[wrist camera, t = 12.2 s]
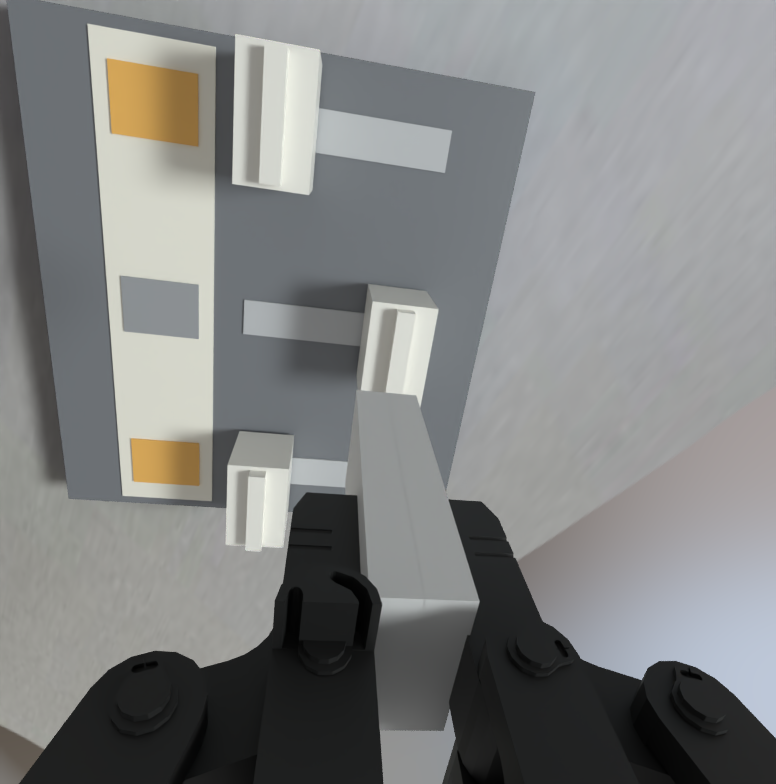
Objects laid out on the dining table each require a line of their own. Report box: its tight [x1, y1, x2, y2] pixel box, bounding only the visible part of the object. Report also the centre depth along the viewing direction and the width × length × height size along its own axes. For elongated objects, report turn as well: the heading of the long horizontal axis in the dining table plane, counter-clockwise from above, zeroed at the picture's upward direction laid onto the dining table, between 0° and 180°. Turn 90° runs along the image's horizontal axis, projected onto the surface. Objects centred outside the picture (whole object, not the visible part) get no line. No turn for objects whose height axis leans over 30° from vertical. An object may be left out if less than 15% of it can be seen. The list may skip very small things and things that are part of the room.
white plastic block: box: [226, 431, 294, 551], centre depth 28 cm, size 3×5×4 cm, turn 172°
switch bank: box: [7, 0, 535, 512], centre depth 27 cm, size 22×24×2 cm
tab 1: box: [232, 34, 322, 195], centre depth 21 cm, size 3×5×4 cm, turn 172°
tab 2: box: [356, 284, 439, 407], centre depth 25 cm, size 3×5×4 cm, turn 172°
